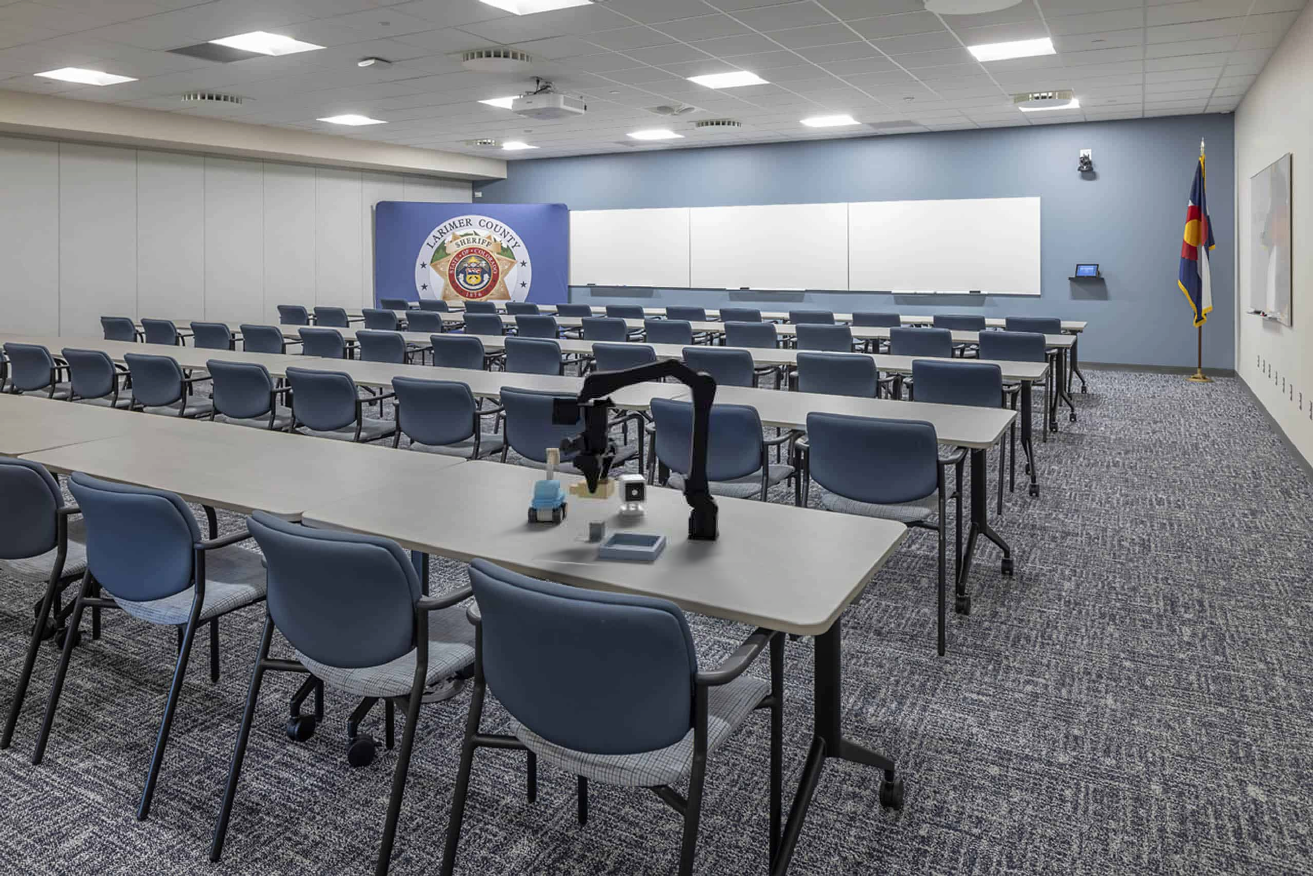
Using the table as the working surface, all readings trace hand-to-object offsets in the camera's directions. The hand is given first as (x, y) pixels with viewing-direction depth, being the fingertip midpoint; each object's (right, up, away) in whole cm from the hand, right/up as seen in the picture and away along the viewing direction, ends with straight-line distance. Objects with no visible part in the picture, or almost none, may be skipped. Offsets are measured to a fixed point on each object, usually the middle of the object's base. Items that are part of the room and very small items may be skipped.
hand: (596, 489), depth 222 cm
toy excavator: (-13, -8, +20) cm, 26 cm away
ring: (-1, -1, +1) cm, 2 cm away
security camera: (+8, -8, +24) cm, 26 cm away
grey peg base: (0, -12, +2) cm, 12 cm away
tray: (+9, -14, -9) cm, 18 cm away
